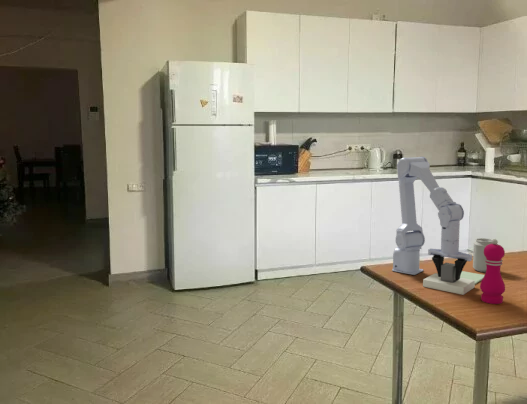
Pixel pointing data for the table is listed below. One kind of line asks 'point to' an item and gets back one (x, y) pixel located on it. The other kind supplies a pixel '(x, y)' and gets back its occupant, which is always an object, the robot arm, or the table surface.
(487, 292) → the pepper mill
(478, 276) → the mat
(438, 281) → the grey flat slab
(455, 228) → the robot arm
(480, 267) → the can
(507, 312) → the table surface
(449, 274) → the plug
